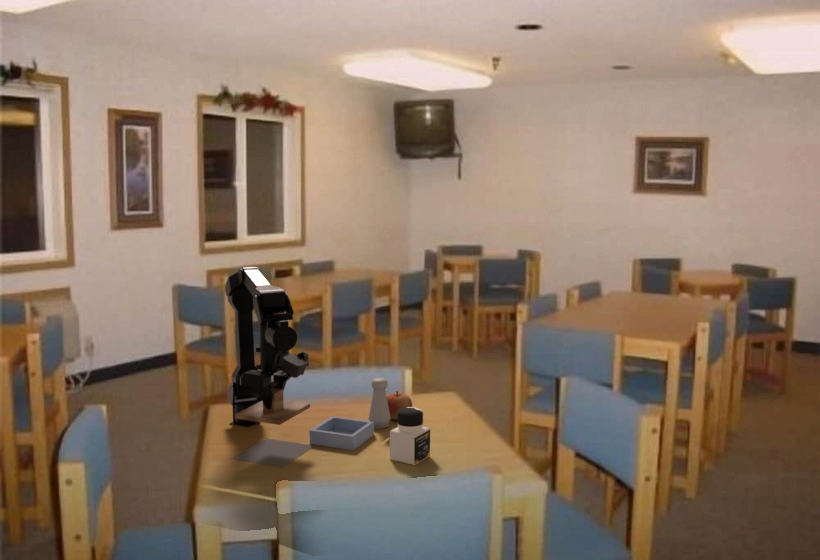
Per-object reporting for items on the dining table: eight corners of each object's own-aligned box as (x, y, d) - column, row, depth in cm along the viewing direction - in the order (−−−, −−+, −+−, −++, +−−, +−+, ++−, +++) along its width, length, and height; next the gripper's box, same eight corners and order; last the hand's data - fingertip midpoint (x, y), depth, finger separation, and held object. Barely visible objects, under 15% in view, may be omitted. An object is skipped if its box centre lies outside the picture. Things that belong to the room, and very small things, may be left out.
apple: (395, 425, 206) (395, 396, 205) (377, 417, 212) (377, 389, 211) (418, 419, 211) (418, 391, 210) (400, 412, 217) (400, 384, 216)
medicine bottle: (414, 465, 178) (415, 415, 176) (389, 459, 181) (389, 410, 180) (430, 456, 184) (430, 407, 182) (405, 450, 187) (405, 403, 186)
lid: (235, 418, 179) (234, 395, 178) (267, 401, 191) (267, 380, 191) (279, 424, 174) (279, 401, 173) (310, 407, 187) (309, 385, 186)
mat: (231, 461, 180) (231, 458, 180) (266, 440, 194) (266, 438, 194) (282, 469, 175) (282, 467, 175) (314, 448, 189) (314, 445, 189)
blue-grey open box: (309, 445, 190) (309, 430, 190) (332, 430, 201) (332, 416, 201) (353, 452, 186) (353, 436, 185) (373, 436, 197) (373, 421, 196)
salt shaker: (387, 430, 202) (387, 382, 200) (366, 429, 203) (366, 381, 201) (392, 423, 207) (392, 376, 205) (371, 422, 208) (371, 375, 207)
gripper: (280, 354, 169) (281, 422, 171) (321, 337, 186) (321, 399, 188) (237, 349, 173) (239, 416, 175) (281, 333, 190) (282, 394, 192)
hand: (273, 406), depth 183 cm, fingers closed on lid, 3 cm apart
